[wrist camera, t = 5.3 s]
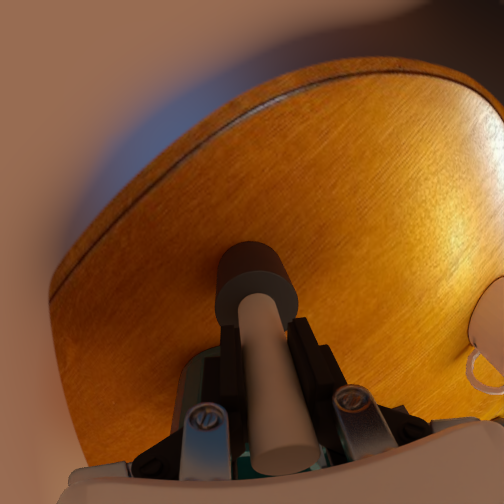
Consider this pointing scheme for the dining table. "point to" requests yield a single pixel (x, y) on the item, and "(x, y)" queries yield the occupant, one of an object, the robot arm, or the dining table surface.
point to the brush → (266, 357)
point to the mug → (488, 334)
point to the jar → (191, 396)
